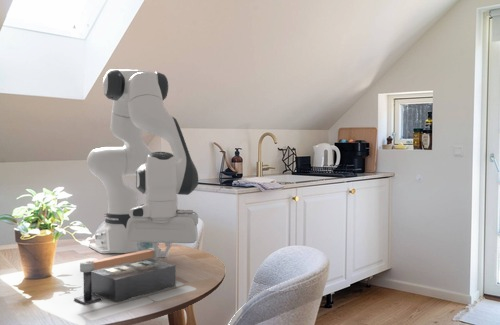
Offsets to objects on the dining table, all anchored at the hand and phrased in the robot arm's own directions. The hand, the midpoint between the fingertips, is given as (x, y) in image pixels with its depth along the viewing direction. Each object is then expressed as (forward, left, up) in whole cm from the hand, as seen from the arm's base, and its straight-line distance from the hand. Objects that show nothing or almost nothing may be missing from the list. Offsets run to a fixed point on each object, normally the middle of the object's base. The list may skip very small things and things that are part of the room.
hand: (162, 257), depth 147 cm
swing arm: (-6, -9, -1) cm, 11 cm away
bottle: (-20, +9, -9) cm, 24 cm away
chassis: (-6, -6, -9) cm, 12 cm away
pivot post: (-6, -20, -9) cm, 23 cm away
